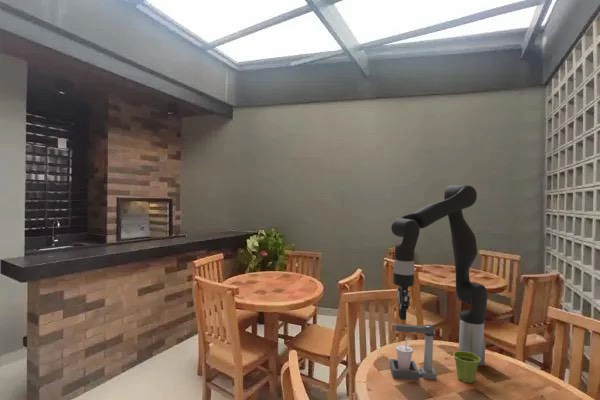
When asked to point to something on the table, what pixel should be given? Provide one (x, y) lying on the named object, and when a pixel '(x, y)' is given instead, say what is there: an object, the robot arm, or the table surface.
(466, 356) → the plant pot
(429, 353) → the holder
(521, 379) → the table surface
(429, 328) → the joystick lever
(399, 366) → the smoothie
